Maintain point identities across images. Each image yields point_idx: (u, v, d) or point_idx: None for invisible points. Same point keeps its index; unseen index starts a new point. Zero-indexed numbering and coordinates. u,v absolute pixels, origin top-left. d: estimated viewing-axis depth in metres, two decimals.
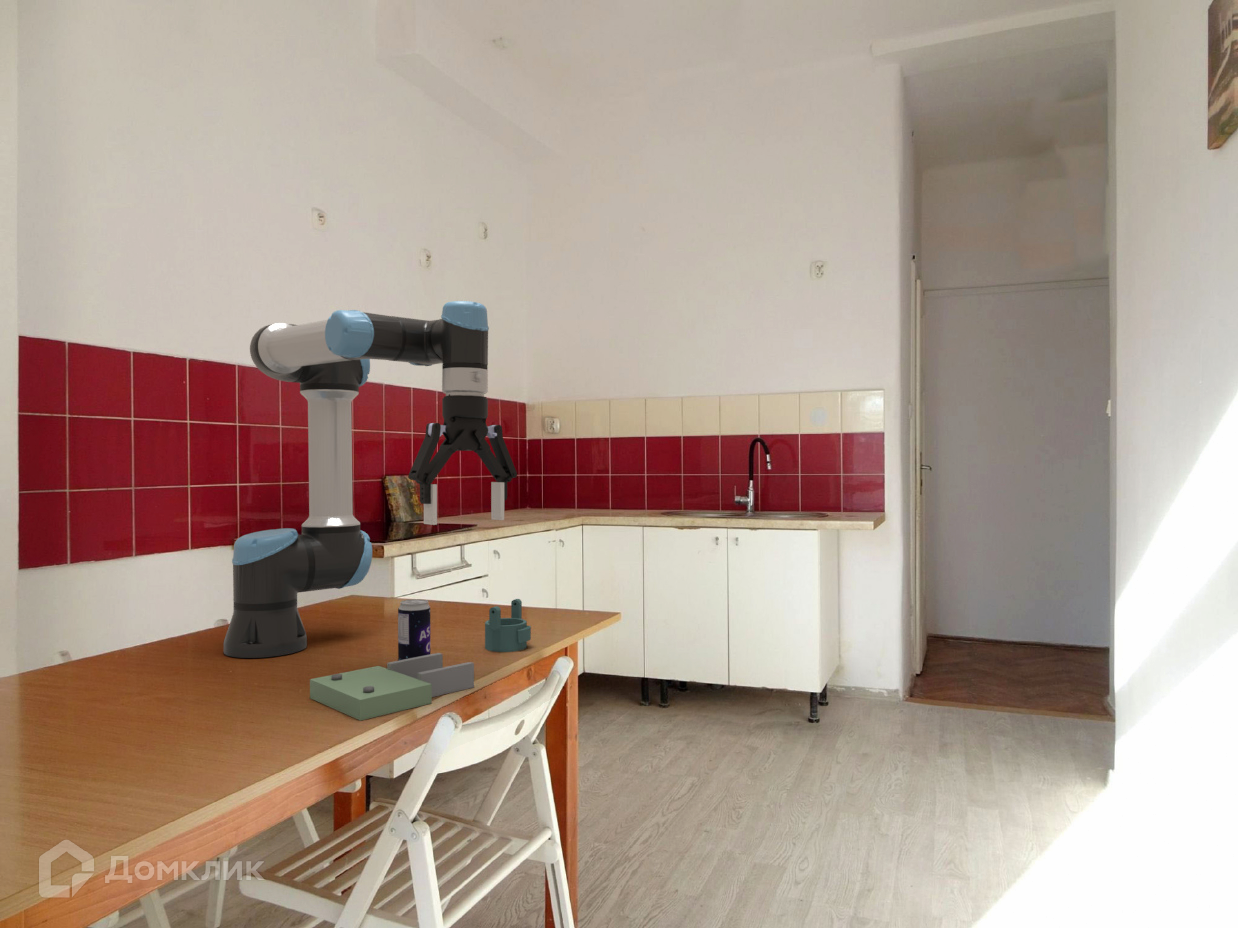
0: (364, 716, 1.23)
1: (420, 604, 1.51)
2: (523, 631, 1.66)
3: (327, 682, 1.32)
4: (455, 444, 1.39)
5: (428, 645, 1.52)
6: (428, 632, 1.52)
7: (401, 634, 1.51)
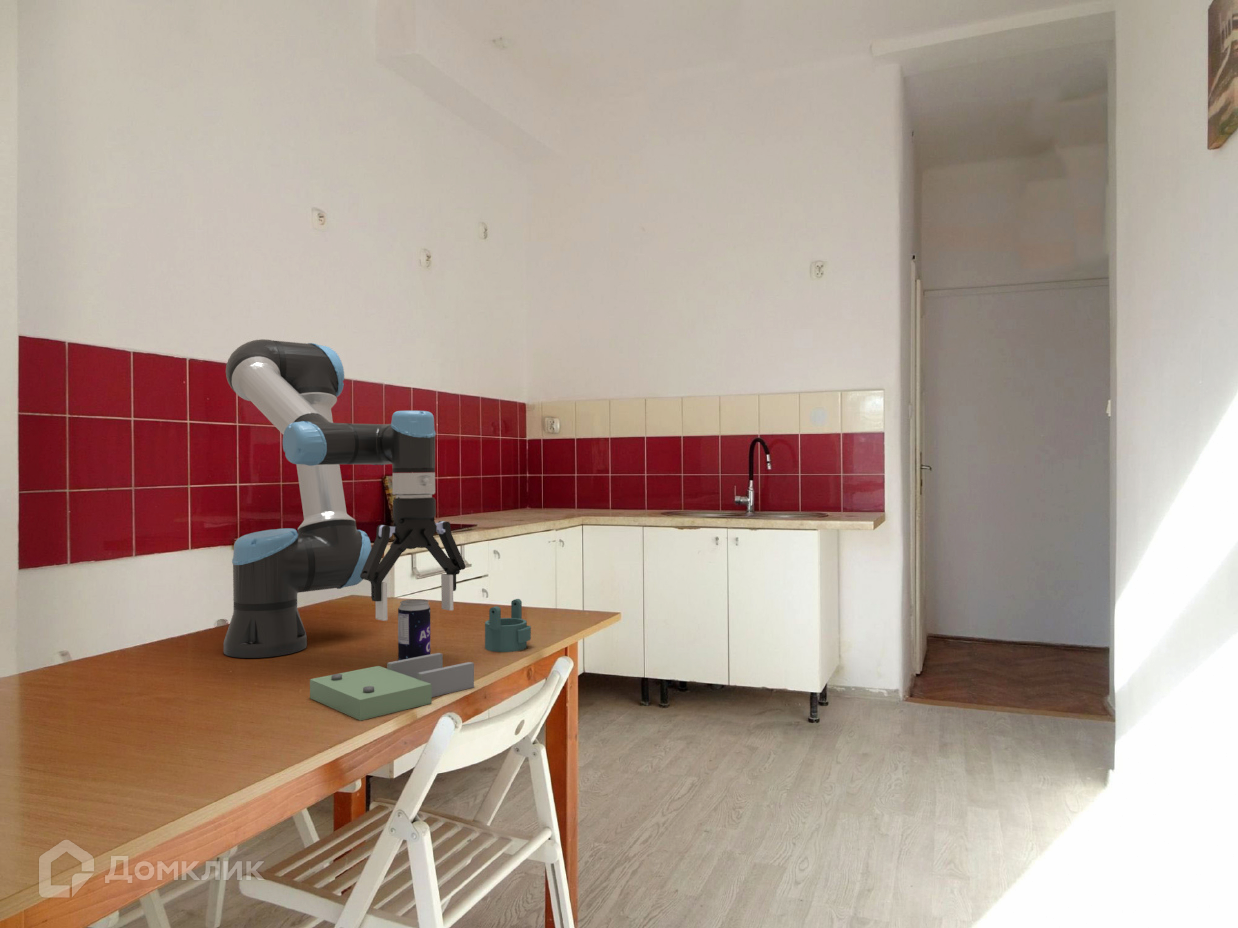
0: (364, 716, 1.23)
1: (420, 604, 1.51)
2: (523, 631, 1.66)
3: (327, 682, 1.32)
4: (404, 544, 1.49)
5: (428, 645, 1.52)
6: (428, 632, 1.52)
7: (401, 634, 1.51)
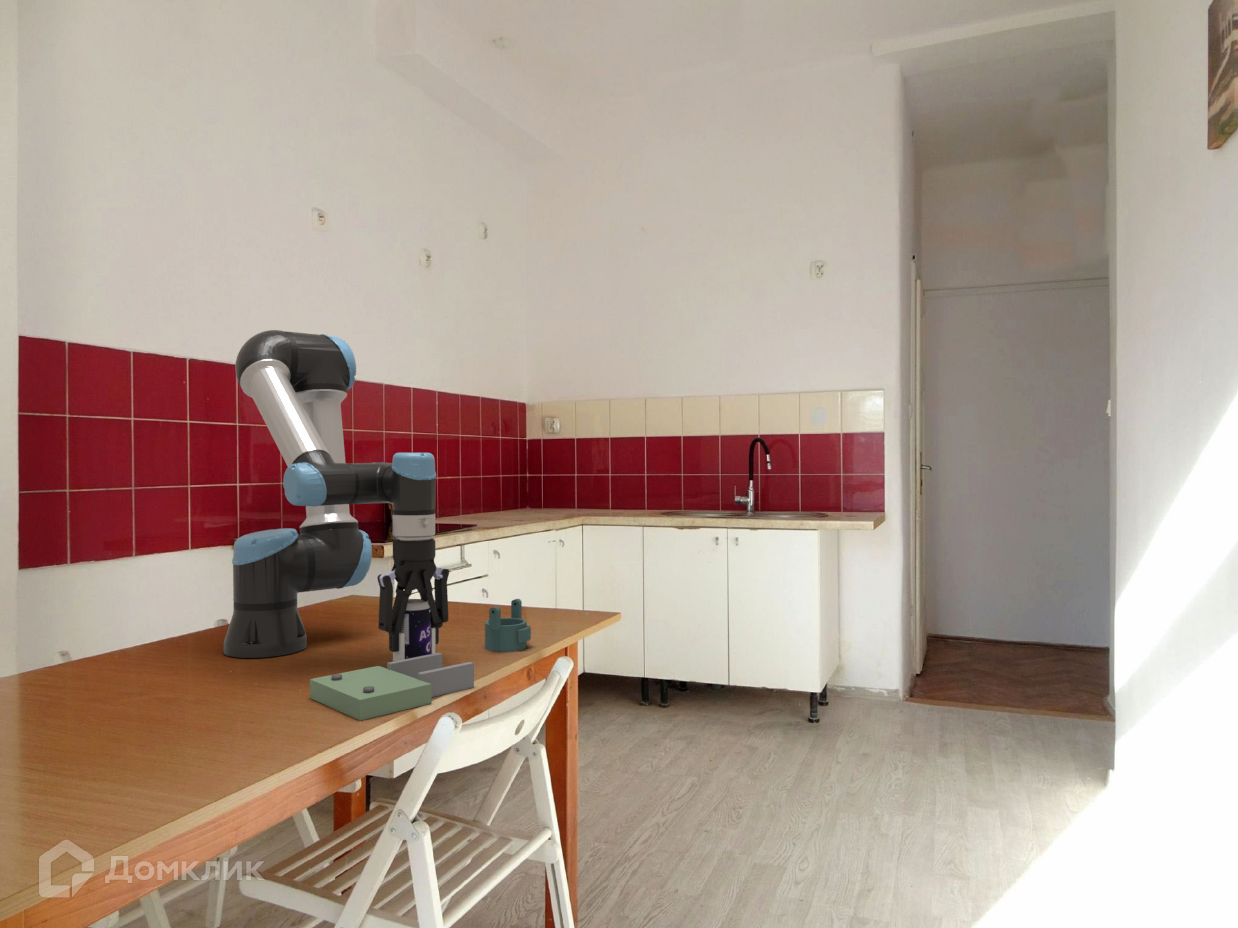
0: (364, 716, 1.23)
1: (420, 604, 1.51)
2: (523, 631, 1.66)
3: (327, 682, 1.32)
4: (408, 589, 1.50)
5: (428, 645, 1.52)
6: (428, 632, 1.52)
7: None
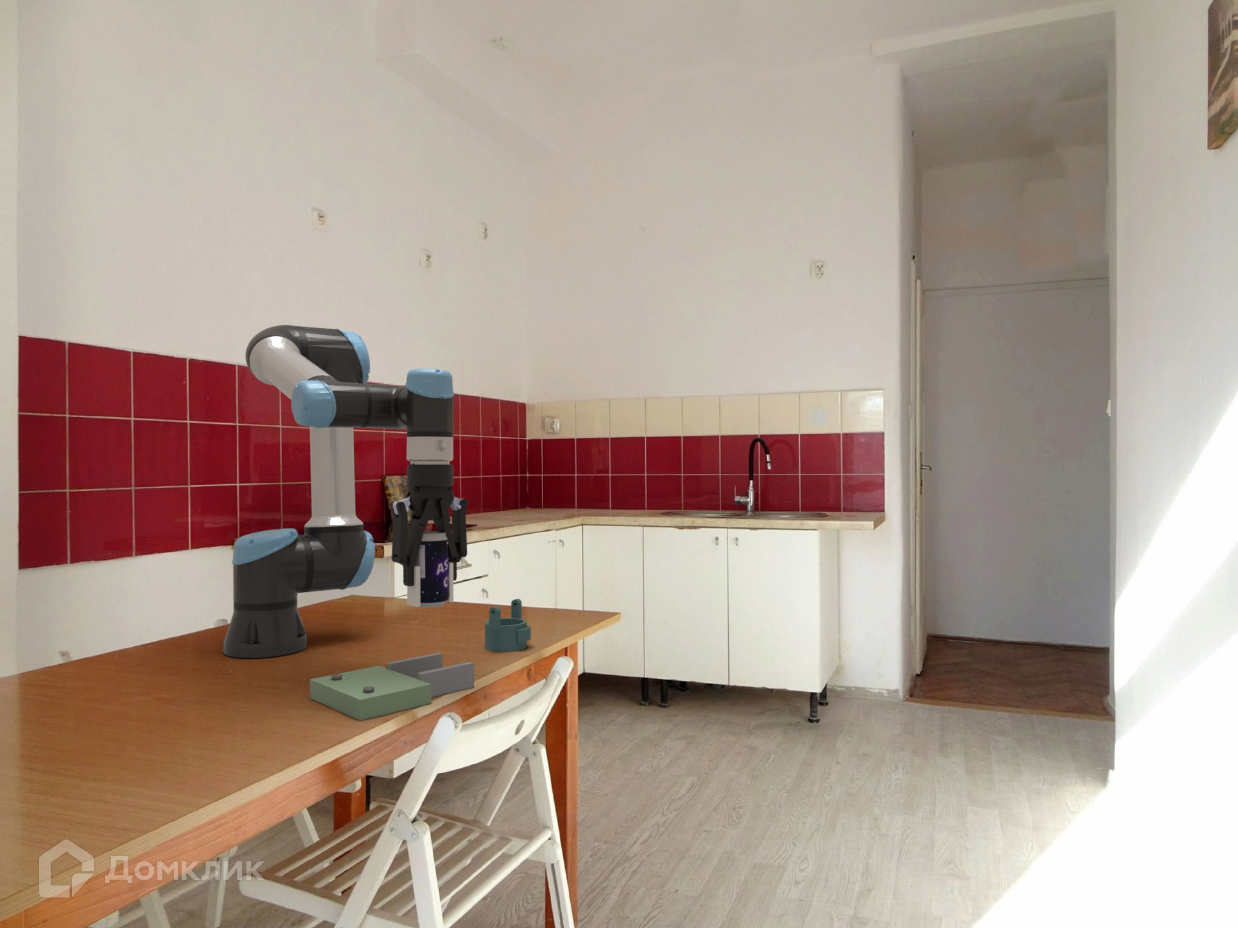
0: (364, 716, 1.23)
1: (437, 534, 1.38)
2: (523, 631, 1.66)
3: (327, 682, 1.32)
4: (424, 517, 1.37)
5: (446, 580, 1.39)
6: (446, 566, 1.39)
7: None
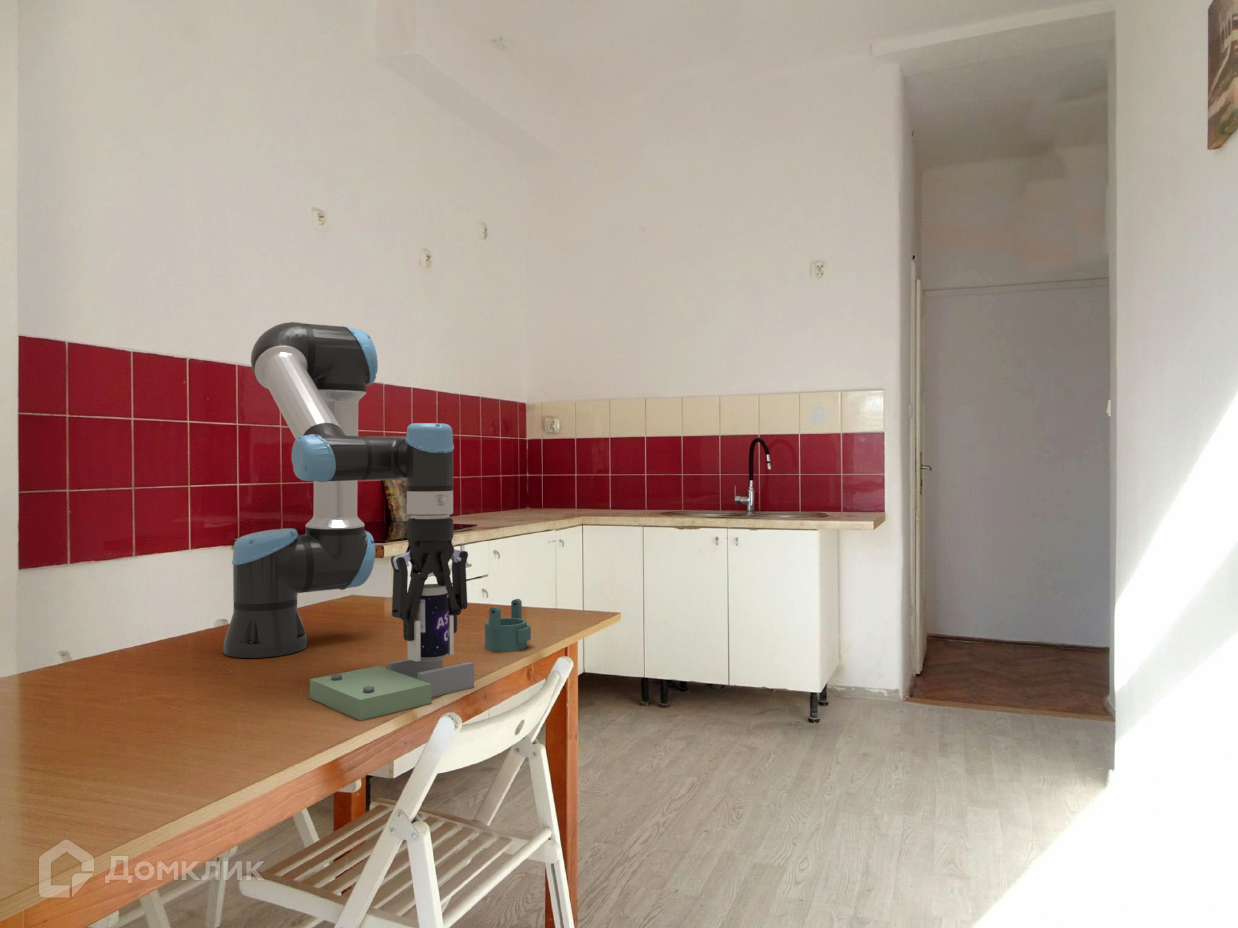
0: (364, 716, 1.23)
1: (437, 589, 1.38)
2: (523, 631, 1.66)
3: (327, 682, 1.32)
4: (424, 572, 1.37)
5: (446, 633, 1.39)
6: (446, 619, 1.39)
7: None
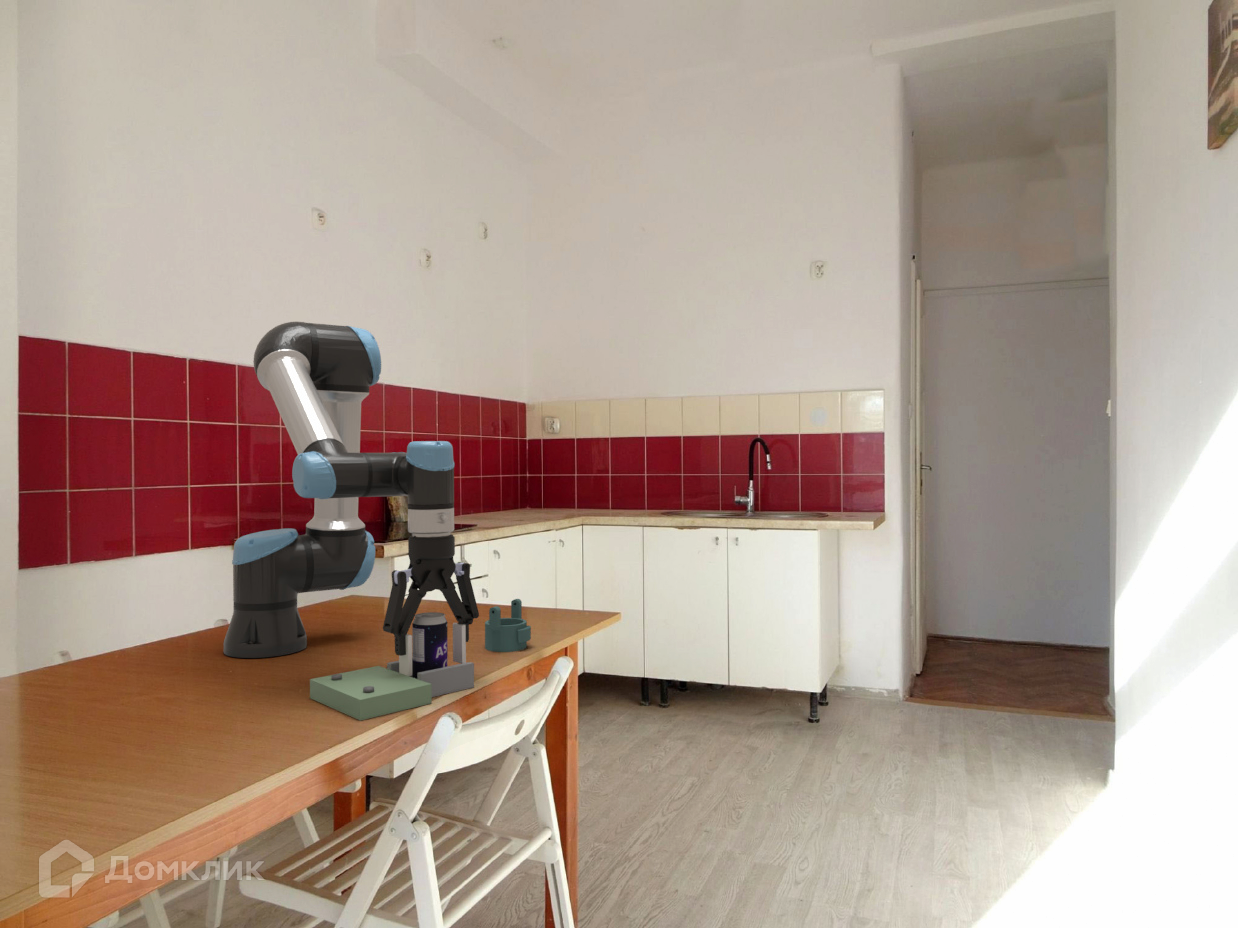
0: (364, 716, 1.23)
1: (436, 618, 1.38)
2: (523, 631, 1.66)
3: (327, 682, 1.32)
4: (423, 588, 1.37)
5: (445, 662, 1.39)
6: (445, 648, 1.39)
7: (415, 651, 1.38)
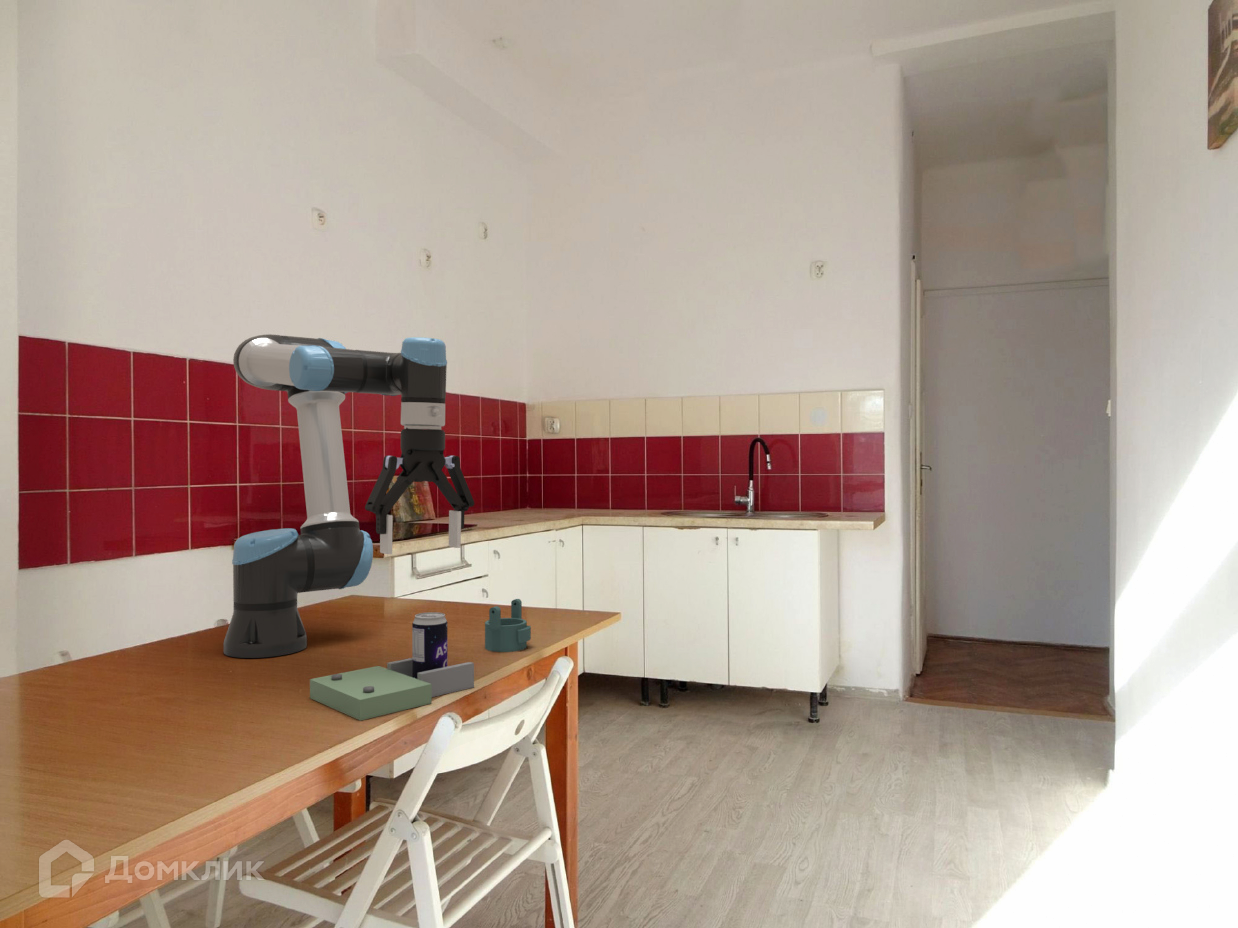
0: (364, 716, 1.23)
1: (436, 618, 1.38)
2: (523, 631, 1.66)
3: (327, 682, 1.32)
4: (411, 476, 1.44)
5: (445, 663, 1.39)
6: (445, 648, 1.39)
7: (415, 651, 1.38)
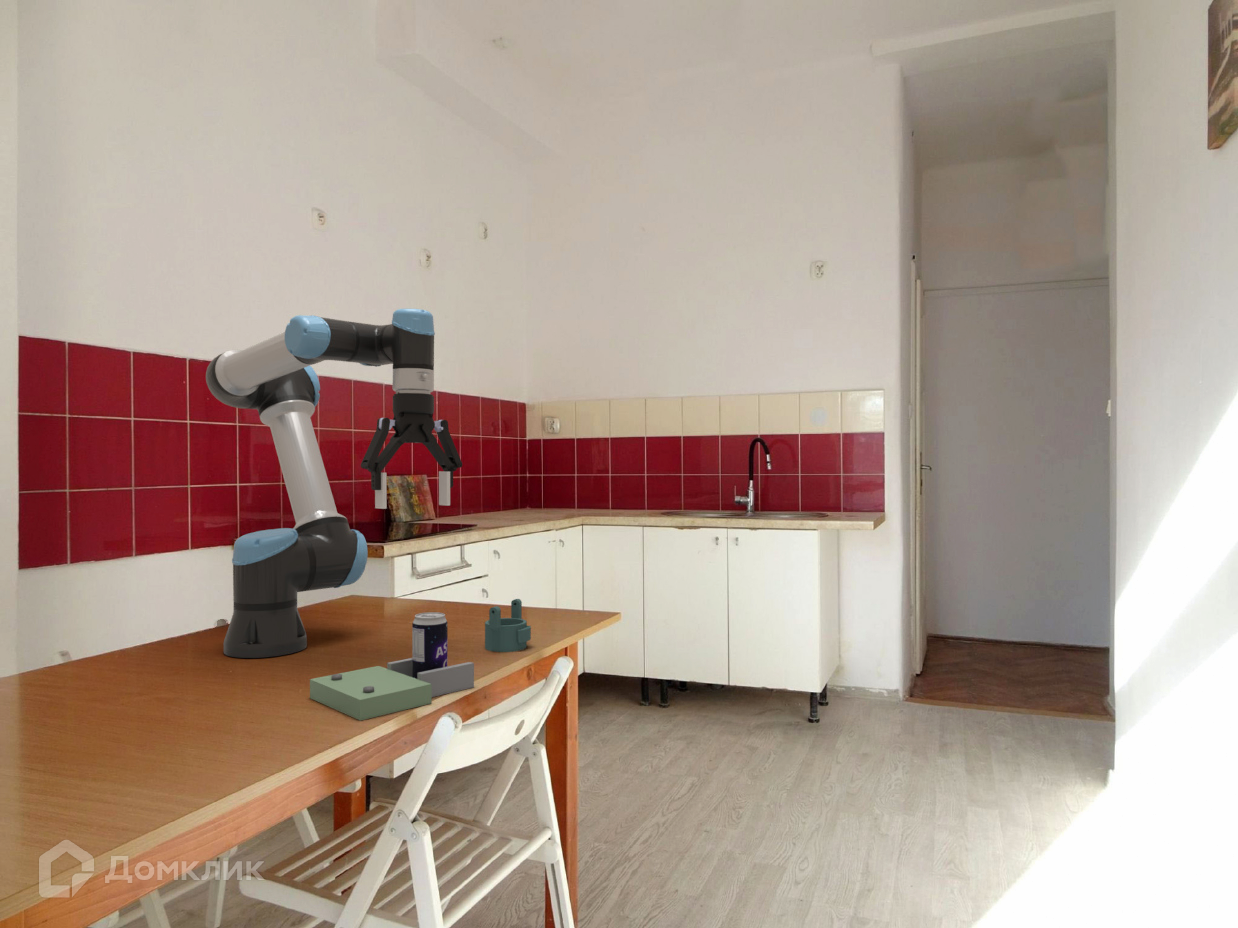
0: (364, 716, 1.23)
1: (436, 618, 1.38)
2: (523, 631, 1.66)
3: (327, 682, 1.32)
4: (403, 437, 1.55)
5: (445, 663, 1.40)
6: (445, 648, 1.39)
7: (415, 651, 1.38)
